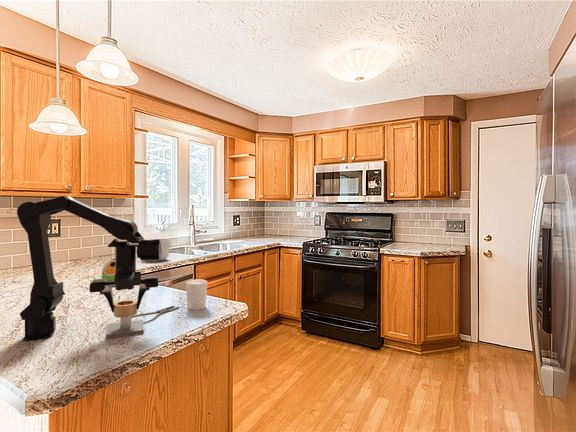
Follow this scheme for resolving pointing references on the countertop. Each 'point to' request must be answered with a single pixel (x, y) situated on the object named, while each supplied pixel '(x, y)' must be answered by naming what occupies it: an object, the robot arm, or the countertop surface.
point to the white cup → (196, 294)
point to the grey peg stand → (125, 328)
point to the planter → (164, 248)
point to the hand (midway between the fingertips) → (125, 310)
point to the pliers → (157, 312)
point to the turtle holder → (109, 270)
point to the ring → (125, 308)
